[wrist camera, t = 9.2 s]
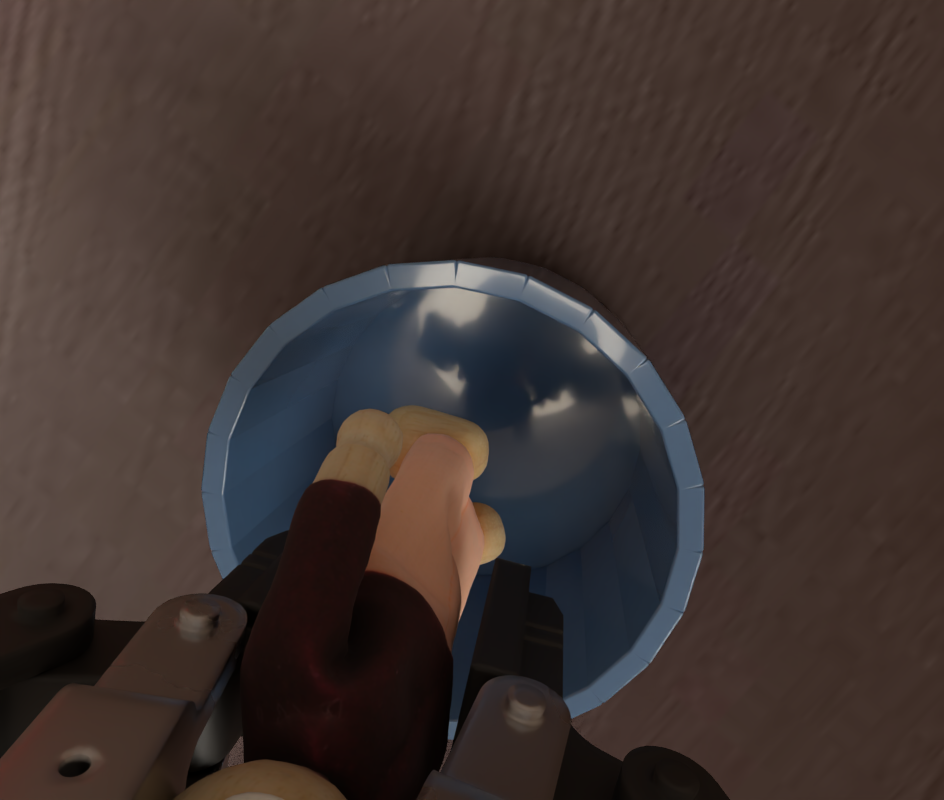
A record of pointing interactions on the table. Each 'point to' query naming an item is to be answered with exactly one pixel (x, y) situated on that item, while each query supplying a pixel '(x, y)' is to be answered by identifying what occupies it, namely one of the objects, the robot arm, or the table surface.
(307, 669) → the grandmother figurine
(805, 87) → the table surface
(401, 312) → the bowl
